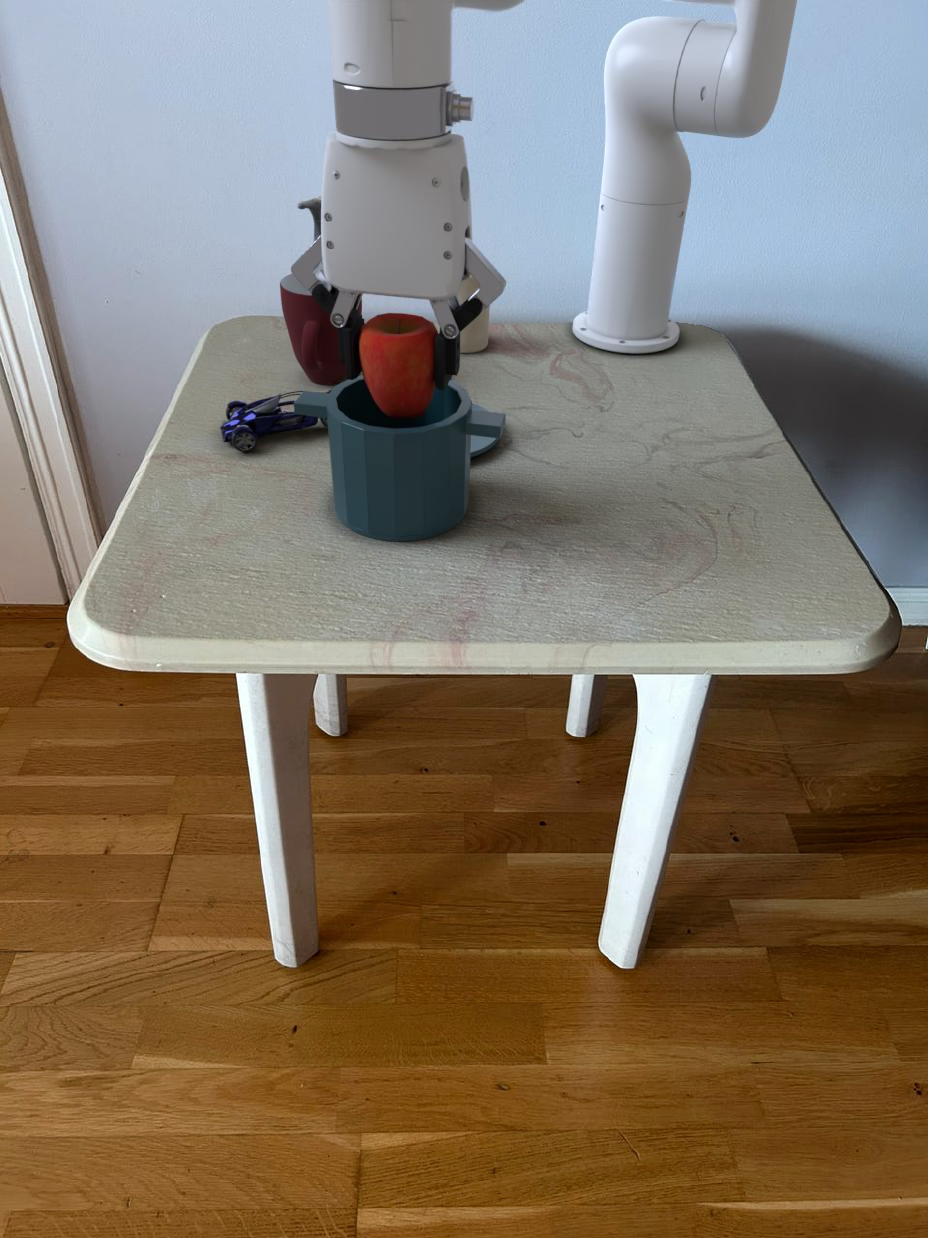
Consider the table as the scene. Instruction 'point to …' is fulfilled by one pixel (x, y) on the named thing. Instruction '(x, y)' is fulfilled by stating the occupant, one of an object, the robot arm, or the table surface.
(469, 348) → the candle
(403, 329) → the apple
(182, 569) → the table surface
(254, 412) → the toy car
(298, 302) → the mug
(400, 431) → the pot
